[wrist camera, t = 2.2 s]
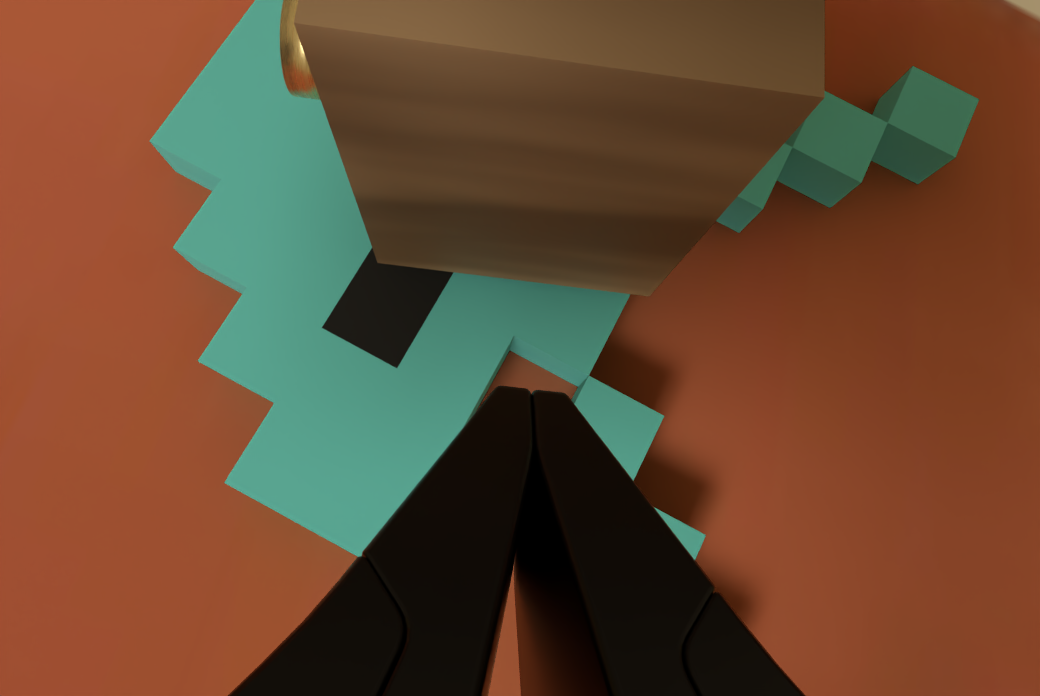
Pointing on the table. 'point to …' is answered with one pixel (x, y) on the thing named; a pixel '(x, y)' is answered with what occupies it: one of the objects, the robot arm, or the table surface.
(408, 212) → the marking gauge
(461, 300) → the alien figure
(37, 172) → the table surface
